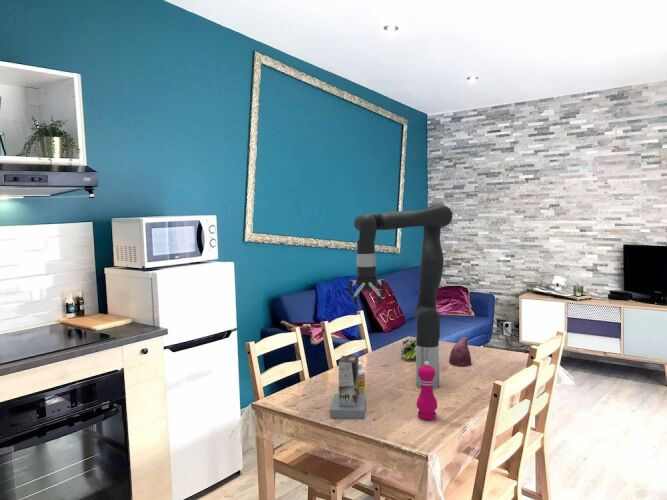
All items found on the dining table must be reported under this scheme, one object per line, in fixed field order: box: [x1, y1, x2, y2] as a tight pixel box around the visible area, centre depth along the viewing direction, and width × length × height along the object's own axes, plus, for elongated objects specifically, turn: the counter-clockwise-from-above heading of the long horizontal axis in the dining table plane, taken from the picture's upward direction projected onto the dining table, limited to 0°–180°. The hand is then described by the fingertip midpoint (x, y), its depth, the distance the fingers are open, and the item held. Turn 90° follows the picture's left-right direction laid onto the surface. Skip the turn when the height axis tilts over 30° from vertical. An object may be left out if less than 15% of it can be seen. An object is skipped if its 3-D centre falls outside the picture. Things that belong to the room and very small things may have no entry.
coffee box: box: [338, 355, 359, 406], centre depth 186 cm, size 9×6×16 cm
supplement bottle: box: [358, 360, 366, 394], centre depth 202 cm, size 7×7×13 cm
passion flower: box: [399, 339, 416, 361], centre depth 251 cm, size 11×11×12 cm
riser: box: [329, 393, 367, 420], centre depth 187 cm, size 12×16×3 cm
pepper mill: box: [416, 361, 438, 421], centre depth 178 cm, size 7×7×20 cm
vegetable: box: [448, 336, 472, 368], centre depth 241 cm, size 10×10×15 cm
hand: (367, 305), depth 201 cm, fingers open, 8 cm apart
